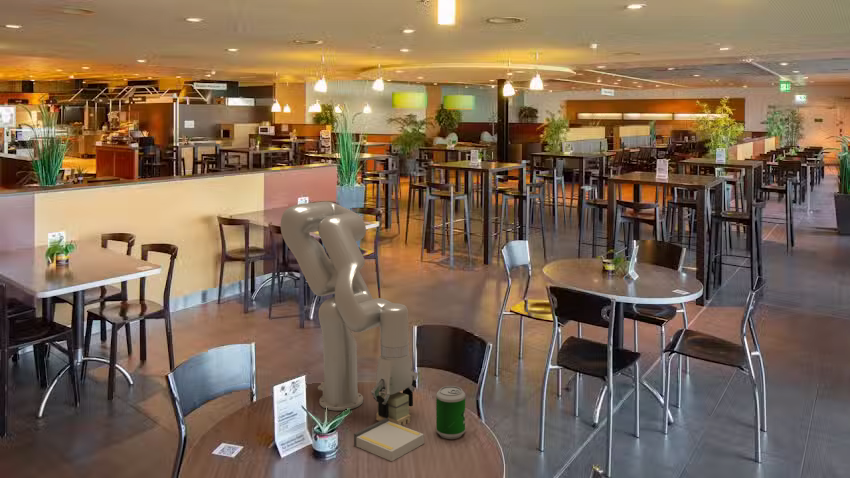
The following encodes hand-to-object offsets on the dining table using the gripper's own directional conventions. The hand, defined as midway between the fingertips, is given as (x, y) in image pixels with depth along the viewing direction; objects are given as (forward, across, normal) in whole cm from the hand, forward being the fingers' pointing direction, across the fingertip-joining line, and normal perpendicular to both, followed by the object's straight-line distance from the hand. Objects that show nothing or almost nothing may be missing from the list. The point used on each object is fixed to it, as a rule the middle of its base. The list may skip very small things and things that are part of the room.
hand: (395, 410), depth 182 cm
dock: (+3, +11, +8) cm, 14 cm away
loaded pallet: (+3, 0, -1) cm, 3 cm away
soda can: (+4, -4, +16) cm, 17 cm away
